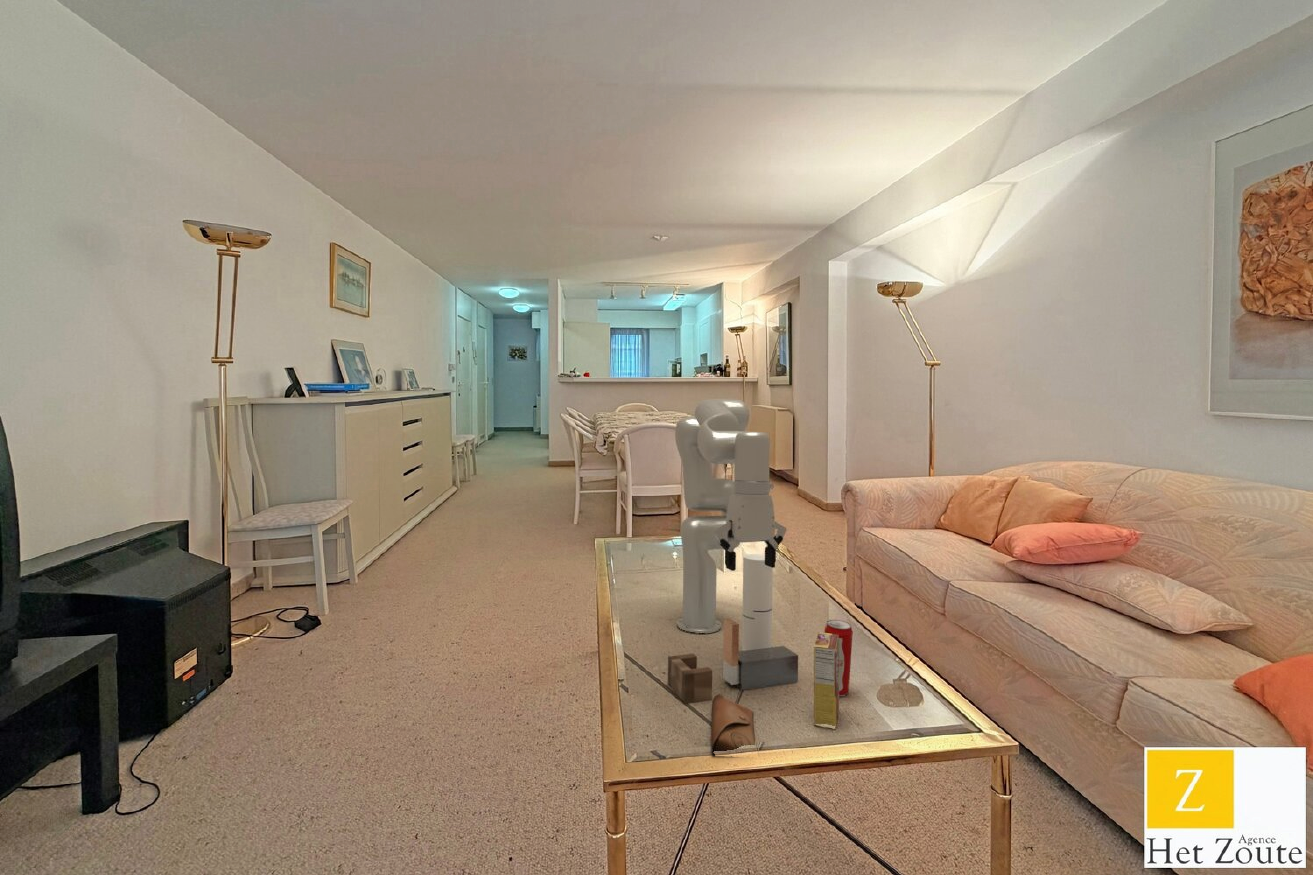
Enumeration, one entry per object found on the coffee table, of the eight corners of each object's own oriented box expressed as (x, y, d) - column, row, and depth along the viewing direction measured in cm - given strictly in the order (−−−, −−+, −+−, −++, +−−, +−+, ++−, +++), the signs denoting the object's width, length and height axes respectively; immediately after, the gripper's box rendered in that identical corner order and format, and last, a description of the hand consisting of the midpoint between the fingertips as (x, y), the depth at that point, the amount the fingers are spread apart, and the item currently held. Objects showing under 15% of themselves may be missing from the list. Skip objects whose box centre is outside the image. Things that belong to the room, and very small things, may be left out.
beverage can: (829, 683, 130) (830, 616, 130) (857, 692, 125) (858, 623, 125) (815, 691, 126) (816, 621, 126) (843, 701, 121) (844, 629, 121)
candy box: (817, 705, 119) (818, 631, 119) (839, 709, 118) (840, 634, 117) (811, 725, 111) (813, 645, 111) (835, 730, 109) (836, 648, 109)
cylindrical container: (771, 665, 140) (772, 560, 140) (741, 662, 141) (742, 559, 141) (771, 654, 147) (772, 555, 147) (742, 651, 148) (744, 553, 148)
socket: (667, 683, 129) (668, 656, 129) (692, 680, 131) (693, 653, 131) (685, 703, 119) (685, 674, 119) (711, 699, 121) (712, 670, 121)
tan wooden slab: (723, 677, 130) (724, 619, 130) (778, 669, 135) (778, 613, 135) (731, 684, 126) (732, 624, 126) (787, 676, 131) (788, 618, 131)
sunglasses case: (762, 759, 99) (742, 724, 99) (726, 778, 100) (706, 743, 100) (754, 710, 117) (737, 680, 117) (723, 726, 118) (706, 696, 118)
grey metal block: (729, 679, 132) (729, 652, 132) (783, 671, 136) (783, 645, 136) (741, 690, 126) (742, 662, 126) (797, 681, 131) (798, 655, 131)
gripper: (776, 486, 133) (775, 561, 133) (707, 488, 127) (706, 566, 127) (795, 489, 126) (794, 568, 126) (724, 491, 120) (723, 574, 120)
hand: (750, 567), depth 127 cm, fingers open, 9 cm apart
